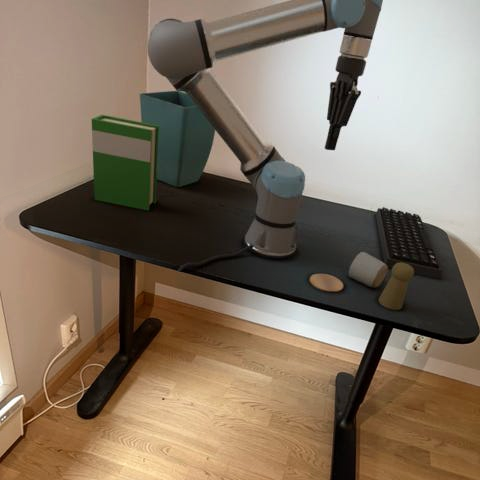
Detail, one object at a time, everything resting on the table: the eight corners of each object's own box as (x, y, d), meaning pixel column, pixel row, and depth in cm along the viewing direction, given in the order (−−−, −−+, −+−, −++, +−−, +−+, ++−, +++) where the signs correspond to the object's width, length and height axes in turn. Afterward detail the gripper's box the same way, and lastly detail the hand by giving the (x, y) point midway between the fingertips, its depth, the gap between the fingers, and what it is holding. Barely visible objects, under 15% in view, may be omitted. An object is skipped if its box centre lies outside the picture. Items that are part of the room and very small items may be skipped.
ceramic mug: (372, 293, 119) (381, 267, 114) (345, 280, 122) (353, 254, 118) (388, 281, 126) (397, 256, 122) (362, 269, 130) (370, 245, 126)
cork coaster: (319, 293, 115) (319, 291, 114) (304, 275, 121) (304, 274, 121) (349, 291, 118) (349, 290, 117) (332, 274, 124) (333, 272, 124)
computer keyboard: (438, 278, 132) (443, 267, 130) (384, 266, 133) (389, 255, 131) (417, 223, 169) (421, 213, 167) (375, 214, 170) (379, 205, 168)
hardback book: (155, 202, 148) (159, 125, 134) (148, 210, 142) (151, 130, 128) (103, 192, 149) (102, 114, 135) (94, 199, 143) (91, 118, 129)
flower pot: (178, 193, 158) (185, 106, 142) (136, 177, 166) (138, 92, 150) (212, 183, 173) (221, 103, 157) (172, 168, 180) (177, 90, 164)
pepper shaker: (403, 302, 117) (419, 264, 111) (400, 312, 113) (416, 274, 106) (380, 294, 119) (394, 257, 113) (376, 304, 114) (391, 266, 108)
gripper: (378, 62, 115) (351, 156, 128) (352, 55, 124) (330, 143, 138) (353, 58, 112) (329, 155, 125) (328, 51, 122) (308, 142, 135)
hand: (329, 149), depth 131 cm, fingers closed
